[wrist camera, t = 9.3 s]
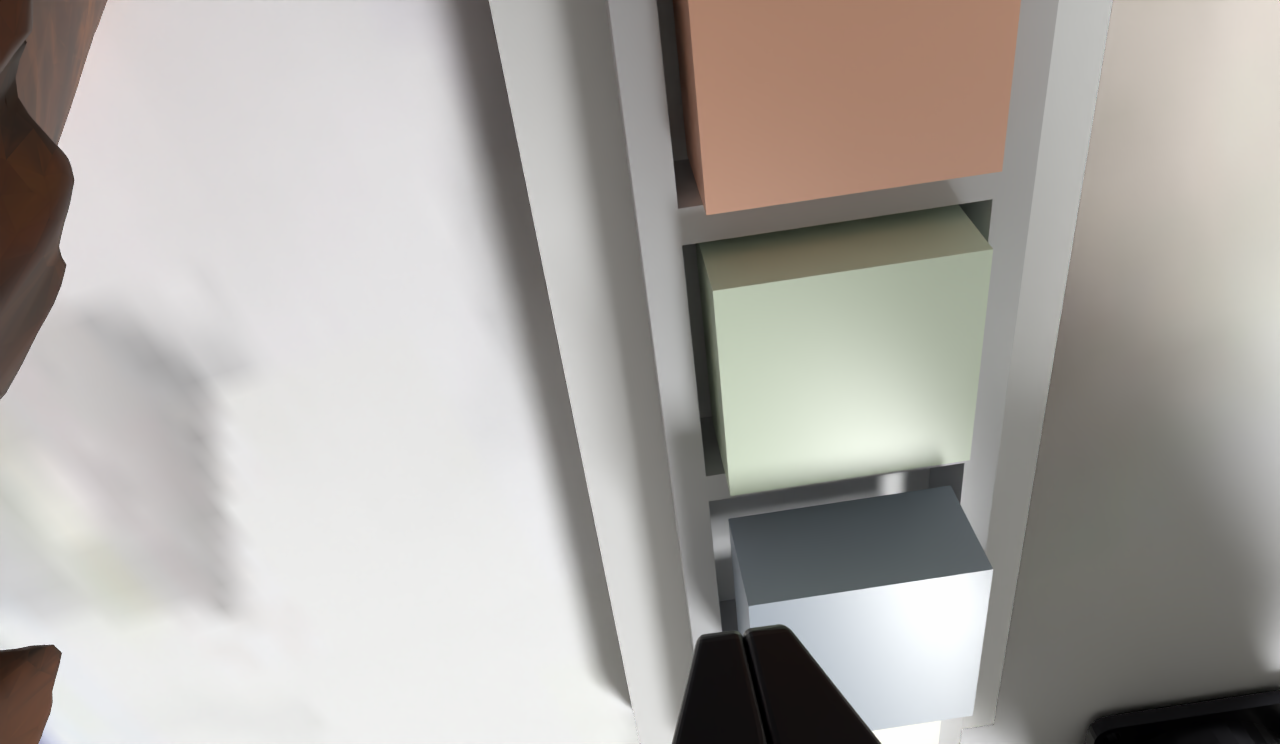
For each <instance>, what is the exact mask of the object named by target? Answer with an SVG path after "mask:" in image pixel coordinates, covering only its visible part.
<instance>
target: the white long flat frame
mask: <svg viewBox="0 0 1280 744" xmlns="http://www.w3.org/2000/svg"><path fill="white" fill-rule="evenodd" d="M1112 3H1113V0H1021V5H1020V14H1019V23H1018V32H1017V41H1016V51H1015V60H1014V69H1013V78H1012V87H1011V96H1010V105H1009V114H1008V123H1007V132H1006V141H1005V150H1004V159H1003V168H1002V172H995V173H989V174H982V175H975V176H968V177H962V178H955V179H948V180H941V181H935V182H928V183H921V184H914V185H908V186H901V187H894V188H888V189H881V190H874V191H867V192H861V193H854V194H847V195H840V196H834V197H827V198H820V199H813V200H807V201H800V202H793V203H787V204H780V205H773V206H766V207H760V208H753V209H746V210H739V211H733V212H726V213H719V214H712V215H706V212H705V209H704V206H703V203H702V200H701V197H700V193H699V190H698V187H697V184H696V181H695V178H694V175H693V171H692V168H691V165H690V162H689V159H688V156H687V148H686V138H685V127H684V117H683V106H682V96H681V85H680V74H679V64H678V53H677V43H676V32H675V22H674V11H673V0H489V4H490V9H491V14H492V19H493V24H494V29H495V34H496V39H497V44H498V49H499V54H500V59H501V63H502V68H503V73H504V78H505V83H506V88H507V93H508V98H509V103H510V108H511V113H512V118H513V123H514V128H515V133H516V137H517V142H518V147H519V152H520V157H521V162H522V167H523V172H524V177H525V182H526V187H527V192H528V197H529V202H530V207H531V211H532V216H533V221H534V226H535V231H536V236H537V241H538V246H539V251H540V256H541V261H542V266H543V271H544V276H545V280H546V285H547V290H548V295H549V300H550V305H551V310H552V315H553V320H554V325H555V330H556V335H557V340H558V345H559V350H560V354H561V359H562V364H563V369H564V374H565V379H566V384H567V389H568V394H569V399H570V404H571V409H572V414H573V419H574V424H575V428H576V433H577V438H578V443H579V448H580V453H581V458H582V463H583V468H584V473H585V478H586V483H587V488H588V493H589V497H590V502H591V507H592V512H593V517H594V522H595V527H596V532H597V537H598V542H599V547H600V552H601V557H602V562H603V567H604V571H605V576H606V581H607V586H608V591H609V596H610V601H611V606H612V611H613V616H614V621H615V626H616V631H617V636H618V641H619V645H620V650H621V655H622V660H623V665H624V670H625V675H626V680H627V685H628V690H629V695H630V700H631V705H632V710H633V715H634V719H635V724H636V729H637V734H638V739H639V744H672V740H673V736H674V732H675V728H676V723H677V719H678V715H679V711H680V707H681V702H682V698H683V694H684V690H685V686H686V681H687V677H688V673H689V669H690V665H691V660H692V656H693V652H694V648H695V644H696V641H697V639H698V638H699V637H700V636H701V635H703V634H708V633H716V632H724V631H731V630H734V631H738V623H737V611H736V600H735V589H734V578H733V566H732V555H731V544H730V533H729V521H728V519H730V518H736V517H743V516H750V515H756V514H763V513H770V512H776V511H783V510H790V509H796V508H803V507H810V506H816V505H823V504H830V503H836V502H843V501H850V500H856V499H863V498H870V497H876V496H883V495H890V494H896V493H903V492H910V491H916V490H923V489H930V488H936V487H943V486H950V485H951V487H952V489H953V491H954V493H955V495H956V497H957V499H958V501H959V503H960V505H961V507H962V509H963V511H964V513H965V514H966V516H967V518H968V520H969V522H970V524H971V526H972V528H973V530H974V532H975V534H976V536H977V538H978V540H979V542H980V544H981V546H982V548H983V550H984V552H985V554H986V556H987V558H988V560H989V562H990V564H991V566H992V568H993V576H992V583H991V590H990V597H989V604H988V611H987V618H986V625H985V632H984V639H983V646H982V653H981V660H980V667H979V674H978V681H977V688H976V696H975V703H974V710H973V716H967V717H960V718H954V719H947V720H941V725H940V734H939V743H938V744H960V741H961V733H962V729H969V728H975V727H982V726H989V725H994V720H995V714H996V708H997V701H998V695H999V689H1000V683H1001V677H1002V671H1003V665H1004V659H1005V653H1006V647H1007V641H1008V635H1009V629H1010V622H1011V616H1012V610H1013V604H1014V598H1015V592H1016V586H1017V580H1018V574H1019V568H1020V562H1021V556H1022V550H1023V544H1024V537H1025V531H1026V525H1027V519H1028V513H1029V507H1030V501H1031V495H1032V489H1033V483H1034V477H1035V471H1036V465H1037V458H1038V452H1039V446H1040V440H1041V434H1042V428H1043V422H1044V416H1045V410H1046V404H1047V398H1048V392H1049V386H1050V380H1051V373H1052V367H1053V361H1054V355H1055V349H1056V343H1057V337H1058V331H1059V325H1060V319H1061V313H1062V307H1063V301H1064V295H1065V288H1066V282H1067V276H1068V270H1069V264H1070V258H1071V252H1072V246H1073V240H1074V234H1075V228H1076V222H1077V216H1078V209H1079V203H1080V197H1081V191H1082V185H1083V179H1084V173H1085V167H1086V161H1087V155H1088V149H1089V143H1090V137H1091V131H1092V124H1093V118H1094V112H1095V106H1096V100H1097V94H1098V88H1099V82H1100V76H1101V70H1102V64H1103V58H1104V52H1105V45H1106V39H1107V33H1108V27H1109V21H1110V15H1111V9H1112ZM951 205H959V206H960V207H961V209H962V210H963V211H964V212H965V214H966V215H967V216H968V218H969V219H970V220H971V221H972V223H973V224H974V225H975V227H976V228H977V229H978V230H979V232H980V233H981V234H982V235H983V237H984V238H985V239H986V241H987V242H988V243H989V244H990V246H991V247H992V248H993V256H992V265H991V274H990V283H989V292H988V301H987V310H986V319H985V329H984V338H983V347H982V356H981V365H980V374H979V383H978V392H977V401H976V410H975V419H974V428H973V437H972V446H971V455H970V460H968V461H961V462H955V463H948V464H941V465H935V466H928V467H921V468H915V469H908V470H901V471H895V472H888V473H881V474H875V475H868V476H861V477H855V478H848V479H841V480H835V481H828V482H821V483H815V484H808V485H801V486H795V487H788V488H781V489H775V490H768V491H761V492H755V493H748V494H741V495H735V496H730V492H729V488H728V484H727V480H726V476H725V472H724V467H723V463H722V459H721V455H720V451H719V447H718V442H717V438H716V434H715V430H714V426H713V422H712V413H711V403H710V392H709V382H708V371H707V360H706V350H705V339H704V329H703V318H702V308H701V297H700V286H699V276H698V265H697V255H696V244H695V243H702V242H709V241H715V240H722V239H729V238H736V237H742V236H749V235H756V234H763V233H769V232H776V231H783V230H789V229H796V228H803V227H810V226H816V225H823V224H830V223H837V222H843V221H850V220H857V219H863V218H870V217H877V216H884V215H890V214H897V213H904V212H911V211H917V210H924V209H931V208H937V207H944V206H951Z"/></svg>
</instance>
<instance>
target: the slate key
mask: <svg viewBox="0 0 1280 744" xmlns="http://www.w3.org/2000/svg"><path fill="white" fill-rule="evenodd" d="M728 521H729V533H730V544H731V555H732V566H733V578H734V589H735V600H736V611H737V623H738V632H740V633H741V635H742V636H743V633H744V631H746V630H747V629H749V628H754V627H762V626H769V625H777V624H782V625H785V626H787V627H788V628H789V629H791V630H792V631H793V633H794V634H795V635H796V636H797V638H798V639H799V640H800V641H801V643H802V644H803V645H804V646H805V648H806V649H807V650H808V651H809V653H810V654H811V655H812V656H813V658H814V659H815V660H816V662H817V663H818V664H819V665H820V667H821V668H822V669H823V670H824V672H825V673H826V674H827V675H828V677H829V678H830V679H831V680H832V682H833V683H834V684H835V685H836V687H837V688H838V689H839V691H840V692H841V693H842V694H843V696H844V697H845V698H846V699H847V701H848V702H849V703H850V704H851V706H852V707H853V708H854V709H855V711H856V712H857V713H858V714H859V716H860V717H861V718H862V719H863V721H864V722H865V723H866V725H867V726H868V727H869V728H870V730H871V731H874V730H881V729H888V728H894V727H901V726H907V725H914V724H921V723H927V722H934V721H941V720H947V719H954V718H960V717H967V716H973V710H974V703H975V696H976V688H977V681H978V674H979V667H980V660H981V653H982V646H983V639H984V632H985V625H986V618H987V611H988V604H989V597H990V590H991V583H992V576H993V568H992V566H991V564H990V562H989V560H988V558H987V556H986V554H985V552H984V550H983V548H982V546H981V544H980V542H979V540H978V538H977V536H976V534H975V532H974V530H973V528H972V526H971V524H970V522H969V520H968V518H967V516H966V514H965V513H964V511H963V509H962V507H961V505H960V503H959V501H958V499H957V497H956V495H955V493H954V491H953V489H952V487H951V485H950V486H943V487H936V488H930V489H923V490H916V491H910V492H903V493H896V494H890V495H883V496H876V497H870V498H863V499H856V500H850V501H843V502H836V503H830V504H823V505H816V506H810V507H803V508H796V509H790V510H783V511H776V512H770V513H763V514H756V515H750V516H743V517H736V518H730V519H728Z"/></svg>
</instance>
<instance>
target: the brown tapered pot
mask: <svg viewBox="0 0 1280 744" xmlns="http://www.w3.org/2000/svg"><path fill="white" fill-rule="evenodd" d="M106 2H107V0H0V399H1V398H2V397H3V396H4V395H5V394H6V392H7V390H8V388H9V387H10V385H11V383H12V381H13V380H14V378H15V376H16V374H17V372H18V370H19V369H20V367H21V365H22V363H23V361H24V359H25V357H26V355H27V353H28V351H29V349H30V347H31V345H32V343H33V341H34V339H35V337H36V335H37V333H38V331H39V329H40V328H41V326H42V324H43V323H44V321H45V319H46V317H47V315H48V314H49V312H50V310H51V308H52V306H53V304H54V302H55V300H56V297H57V295H58V292H59V290H60V287H61V284H62V280H63V276H64V272H65V268H66V264H65V262H64V260H63V259H62V256H61V253H60V249H59V244H60V239H61V234H62V230H63V226H64V222H65V219H66V216H67V212H68V209H69V205H70V201H71V195H72V190H73V185H74V176H73V172H72V168H71V165H70V162H69V160H68V158H67V157H66V155H65V154H64V153H63V151H62V150H61V149H60V148H59V147H58V146H57V145H58V142H59V139H60V137H61V134H62V131H63V128H64V125H65V122H66V119H67V116H68V114H69V111H70V108H71V105H72V102H73V99H74V96H75V93H76V89H77V86H78V83H79V80H80V77H81V74H82V70H83V67H84V64H85V61H86V58H87V55H88V52H89V49H90V46H91V43H92V40H93V36H94V33H95V31H96V29H97V27H98V25H99V22H100V19H101V16H102V13H103V10H104V8H105V5H106ZM61 654H62V653H61V651H59V650H58V649H57V648H56V647H55V646H54V645H37V646H28V647H23V648H18V649H10V650H0V744H38V743H39V741H40V739H41V736H42V733H43V730H44V727H45V725H46V722H47V720H48V717H49V715H50V712H51V707H52V703H53V700H52V690H53V686H54V682H55V679H56V675H57V671H58V668H59V664H60V659H61Z"/></svg>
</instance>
